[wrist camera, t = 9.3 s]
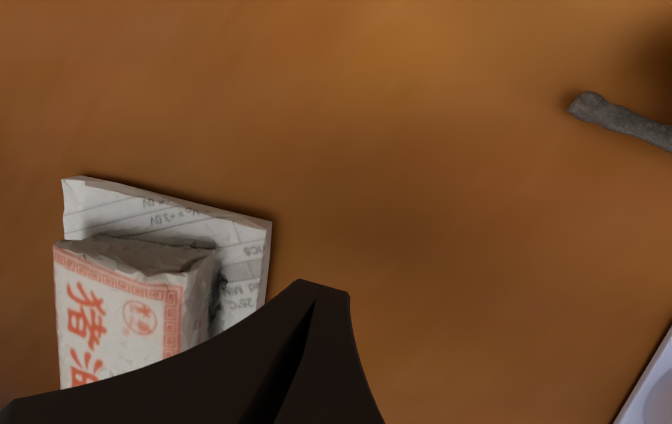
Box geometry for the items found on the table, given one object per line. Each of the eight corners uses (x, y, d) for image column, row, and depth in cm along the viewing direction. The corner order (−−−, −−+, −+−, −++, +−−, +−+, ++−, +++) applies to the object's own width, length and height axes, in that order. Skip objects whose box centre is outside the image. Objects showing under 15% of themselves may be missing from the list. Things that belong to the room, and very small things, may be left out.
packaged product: (208, 573, 23) (29, 516, 24) (242, 486, 28) (90, 442, 29) (241, 263, 16) (-10, 202, 17) (279, 215, 21) (78, 168, 22)
